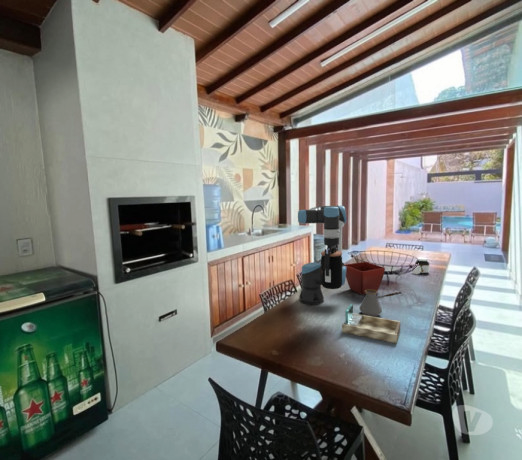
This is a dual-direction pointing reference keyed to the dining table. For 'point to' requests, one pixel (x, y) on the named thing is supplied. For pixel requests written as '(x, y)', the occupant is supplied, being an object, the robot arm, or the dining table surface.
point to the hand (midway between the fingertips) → (331, 278)
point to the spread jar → (421, 266)
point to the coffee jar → (332, 271)
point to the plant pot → (364, 276)
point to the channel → (375, 328)
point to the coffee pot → (373, 303)
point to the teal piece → (352, 317)
